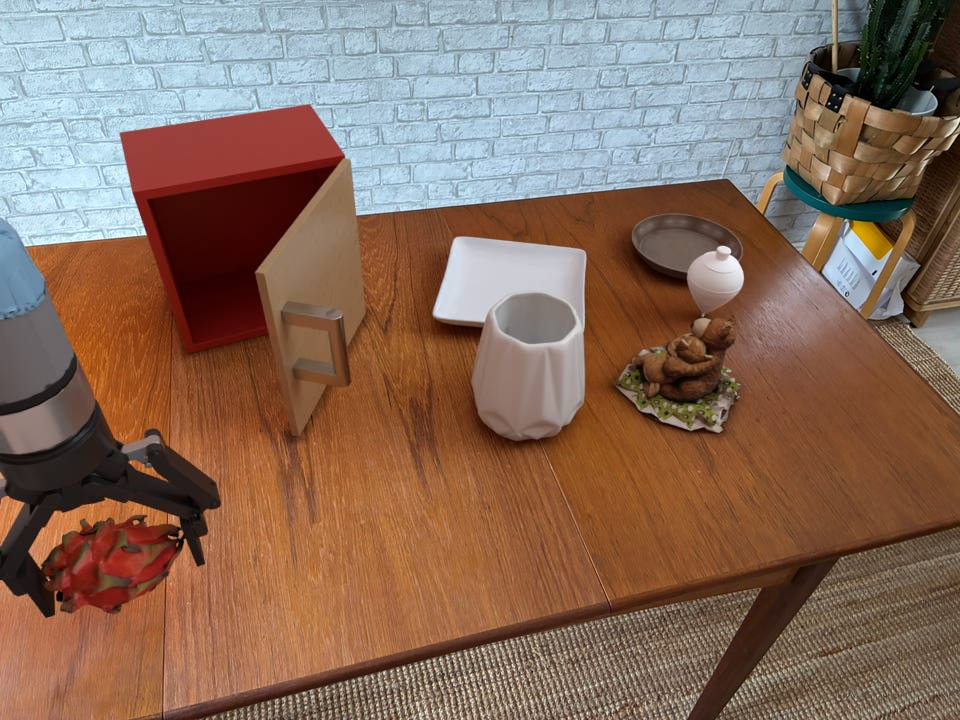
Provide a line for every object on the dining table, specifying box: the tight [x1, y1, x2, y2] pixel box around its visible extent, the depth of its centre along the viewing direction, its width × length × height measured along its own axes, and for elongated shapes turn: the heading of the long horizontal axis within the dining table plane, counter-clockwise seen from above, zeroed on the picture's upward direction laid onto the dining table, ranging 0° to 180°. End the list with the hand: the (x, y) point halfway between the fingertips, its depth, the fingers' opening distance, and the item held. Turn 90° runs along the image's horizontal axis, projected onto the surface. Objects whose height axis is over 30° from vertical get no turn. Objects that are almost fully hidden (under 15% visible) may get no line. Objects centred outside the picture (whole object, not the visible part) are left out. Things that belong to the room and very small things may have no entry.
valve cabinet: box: [118, 103, 346, 355], centre depth 96 cm, size 16×24×24 cm, turn 115°
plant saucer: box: [631, 213, 744, 281], centre depth 115 cm, size 18×18×3 cm
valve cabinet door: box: [255, 158, 367, 438], centre depth 85 cm, size 7×24×24 cm, turn 168°
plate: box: [431, 236, 587, 333], centre depth 105 cm, size 21×21×3 cm
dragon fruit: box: [40, 514, 186, 615], centre depth 63 cm, size 8×8×12 cm
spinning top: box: [686, 246, 745, 318], centre depth 100 cm, size 8×8×12 cm
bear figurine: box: [613, 314, 742, 434], centre depth 89 cm, size 14×15×12 cm
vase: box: [470, 291, 586, 442], centre depth 84 cm, size 14×14×15 cm
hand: (127, 578), depth 65 cm, fingers closed on dragon fruit, 12 cm apart
